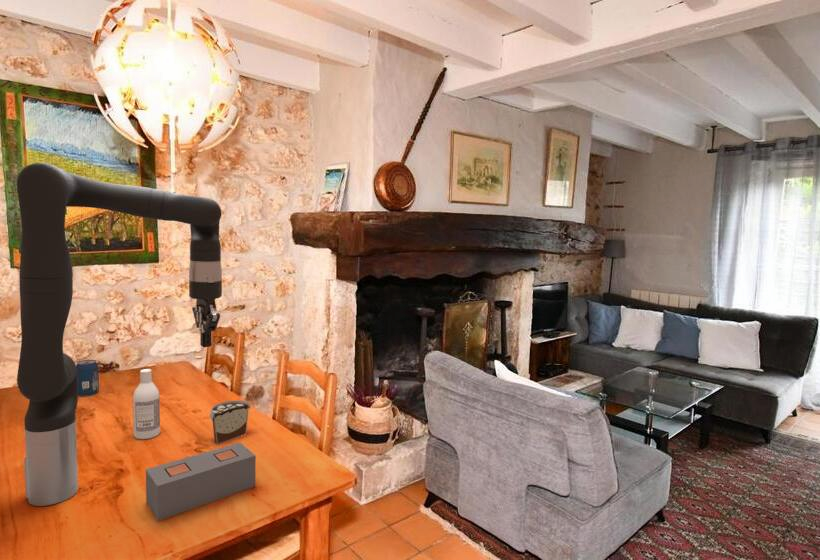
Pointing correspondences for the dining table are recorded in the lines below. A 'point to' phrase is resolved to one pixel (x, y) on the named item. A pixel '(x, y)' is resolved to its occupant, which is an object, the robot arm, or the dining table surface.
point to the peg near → (177, 470)
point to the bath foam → (146, 407)
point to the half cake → (229, 420)
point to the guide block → (199, 481)
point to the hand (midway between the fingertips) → (206, 346)
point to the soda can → (87, 377)
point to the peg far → (225, 455)
